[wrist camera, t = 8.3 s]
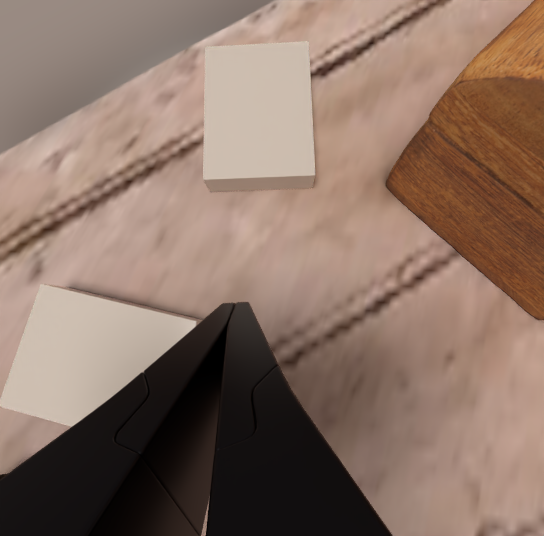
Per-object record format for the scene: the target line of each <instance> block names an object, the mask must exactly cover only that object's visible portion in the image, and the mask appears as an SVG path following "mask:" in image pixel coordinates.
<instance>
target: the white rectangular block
mask: <svg viewBox="0 0 544 536" xmlns="http://www.w3.org/2000/svg"><path fill="white" fill-rule="evenodd" d="M314 179H315V159H314V138H313V118H312V98H311V78H310V58H309V41H303V42H284V43H266V44H248V45H230V46H211V47H205V98H204V160H203V180H204V182H205V184H206V185H207V187H208V189H209V190H210V192H228V191H254V190H280V189H306V188H313V184H314Z"/></svg>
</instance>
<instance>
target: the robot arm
mask: <svg viewBox="0 0 544 536" xmlns="http://www.w3.org/2000/svg"><path fill="white" fill-rule="evenodd" d="M209 496H210V499H209ZM208 501H209V509H208V519H207V529H206V536H393V535H392V534H391V533H390V531H389V530H388V528H387V527H386V525H385V524H384V523H383V521H382V520H381V518H380V517H379V515H378V514H377V513H376V511H375V510H374V508H373V507H372V506H371V504H370V503H369V501H368V500H367V498H366V497H365V496H364V494H363V493H362V491H361V490H360V488H359V487H358V486H357V484H356V483H355V481H354V480H353V478H352V477H351V476H350V474H349V473H348V471H347V470H346V468H345V467H344V466H343V464H342V463H341V461H340V460H339V458H338V457H337V456H336V454H335V453H334V451H333V450H332V448H331V447H330V446H329V444H328V443H327V441H326V440H325V438H324V437H323V436H322V434H321V433H320V431H319V430H318V428H317V427H316V426H315V424H314V423H313V421H312V420H311V418H310V417H309V416H308V414H307V413H306V411H305V410H304V408H303V407H302V405H301V404H300V402H299V401H298V399H297V398H296V396H295V395H294V393H293V391H292V390H291V388H290V386H289V384H288V382H287V380H286V379H285V377H284V375H283V373H282V371H281V368H280V367H279V365H278V363H277V361H276V359H275V357H274V355H273V352H272V350H271V348H270V346H269V344H268V342H267V340H266V338H265V336H264V334H263V331H262V329H261V327H260V325H259V323H258V321H257V319H256V317H255V315H254V313H253V310H252V308H251V306H250V304H249V303H248V302H238V303H236V304H235V303H223V304H221V305H220V306H219V307H218V308H217V309H215V310H214V311H213V312H212V313H211V314H210V315H208V316H207V317H206V318H205V319H204V320H203V321H201V322H200V323H199V324H198V325H197V326H196V327H194V328H193V329H192V330H191V331H190V332H189V333H187V334H186V335H185V336H184V337H183V338H181V339H180V340H179V341H178V342H177V343H176V344H174V345H173V346H172V347H171V348H170V349H169V350H167V351H166V352H165V353H164V354H163V355H162V356H160V357H159V358H158V359H157V360H156V361H155V362H153V363H152V364H151V365H150V366H149V367H148V368H146V369H145V370H144V373H143V372H141V373H140V374H139V375H138V376H136V377H135V378H134V379H133V380H132V381H131V382H129V383H128V384H127V385H126V386H124V387H123V388H122V389H121V390H120V391H118V392H117V393H116V394H115V395H113V396H112V397H111V398H110V399H108V400H107V401H106V402H104V403H103V404H102V405H100V406H99V407H98V408H96V409H95V410H94V411H93V412H91V413H90V414H89V415H87V416H86V417H84V418H83V419H82V420H80V421H79V422H78V423H76V424H75V425H74V426H72V427H71V428H70V429H68V430H67V431H65V432H64V433H63V434H61V435H60V436H59V437H57V438H56V439H55V440H53V441H52V442H51V443H49V444H48V445H46V446H45V447H44V448H42V449H41V450H40V451H38V452H37V453H36V454H34V455H33V456H32V457H30V458H29V459H27V460H26V461H25V462H23V463H22V464H21V465H19V466H18V467H17V468H15V469H14V470H12V471H11V472H10V473H8V474H7V475H6V476H4V477H3V478H2V479H0V536H201V533H202V529H203V524H204V519H205V515H206V510H207V505H208Z"/></svg>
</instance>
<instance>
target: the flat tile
mask: <svg viewBox="0 0 544 536" xmlns="http://www.w3.org/2000/svg"><path fill="white" fill-rule="evenodd" d="M201 321H203V320H201V319H197V318H193V317H189V316H185V315H181V314H176V313H172V312H168V311H164V310H160V309H156V308H152V307H147V306H143V305H139V304H135V303H131V302H127V301H123V300H118V299H114V298H110V297H106V296H102V295H98V294H93V293H89V292H85V291H81V290H77V289H73V288H69V287H61V286H54V285H47V284H41V285H40V288H39V291H38V294H37V296H36V299H35V302H34V305H33V308H32V311H31V313H30V316H29V319H28V322H27V325H26V328H25V331H24V333H23V336H22V339H21V342H20V345H19V348H18V350H17V353H16V356H15V359H14V362H13V365H12V368H11V370H10V373H9V376H8V379H7V382H6V385H5V388H4V390H3V393H2V396H1V399H0V407H3V408H7V409H10V410H14V411H17V412H21V413H25V414H28V415H32V416H35V417H39V418H42V419H46V420H50V421H53V422H57V423H60V424H64V425H68V426H71V427H72V426H74V425H75V424H76V423H78V422H79V421H80V420H82V419H83V418H84V417H86V416H87V415H89V414H90V413H91V412H93V411H94V410H95V409H96V408H98V407H99V406H100V405H102V404H103V403H104V402H106V401H107V400H108V399H110V398H111V397H112V396H113V395H115V394H116V393H117V392H118V391H120V390H121V389H122V388H123V387H124V386H126V385H127V384H128V383H129V382H131V381H132V380H133V379H134V378H135V377H136V376H138V375H139V374H140V373H141V372H143V373H144V370H145V369H146V368H148V367H149V366H150V365H151V364H152V363H153V362H155V361H156V360H157V359H158V358H159V357H160V356H162V355H163V354H164V353H165V352H166V351H167V350H169V349H170V348H171V347H172V346H173V345H174V344H176V343H177V342H178V341H179V340H180V339H181V338H183V337H184V336H185V335H186V334H187V333H189V332H190V331H191V330H192V329H193V328H194V327H196V326H197V325H198V324H199V323H200V322H201Z"/></svg>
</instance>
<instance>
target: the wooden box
mask: <svg viewBox="0 0 544 536" xmlns="http://www.w3.org/2000/svg"><path fill="white" fill-rule="evenodd" d="M386 186H387V188H388V189H389V190H390V191H391V192H392V193H393V194H394V195H395V196H396V197H397V198H398V199H399V200H400V201H401V202H402V203H403V204H404V205H405V206H407V207H408V208H409V209H410V210H411V211H412V212H413V213H415V214H416V215H417V216H418V217H419V218H420V219H421V220H422V221H424V222H425V223H426V224H427V225H428V226H429V227H430V228H431V229H432V230H434V231H435V232H436V233H437V234H438V235H439V236H441V237H442V238H443V239H445V240H446V241H447V242H448V243H449V244H450V245H452V246H453V247H454V248H455V249H456V250H457V251H458V252H459V253H460V254H461V255H462V256H463V257H464V258H466V259H467V260H468V261H469V262H470V263H472V264H473V265H474V266H475V267H476V268H478V269H479V270H480V271H481V272H482V273H483V274H485V275H486V276H487V277H488V278H489V279H490V280H491V281H492V282H494V283H495V284H496V285H497V286H498V287H500V288H501V289H502V290H503V291H504V292H506V293H507V294H508V295H509V296H510V297H512V298H513V300H515V301H516V302H517V303H518V304H519V305H520V306H521V307H522V308H524V309H525V310H526V311H527V312H528V313H530V314H531V315H532V316H534V317H536V318H537V319H538V320H544V0H534V1H533V2H532V3H531V4H530V5H529V6H528V7H527V8H526V9H525V10H524V11H523V12H522V13H521V14H520V15H519V16H518V17H517V18H515V19H514V20H513V21H512V22H511V23H510V24H509V25H508V26H507V27H506V28H505V29H504V30H503V31H502V32H501V33H500V34H499V35H498V36H497V37H496V38H495V39H493V40H492V41H491V42H490V43H489V44H488V45H487V46H486V47H485V48H484V49H483V50H482V51H481V52H480V53H479V54H478V55H477V56H476V57H475V58H474V59H473V60H472V61H471V62H470V63H469V64H468V65H467V67H466V68H465V69H464V70H463V71H462V72H461V73H460V75H459V76H458V77H457V78H456V80H455V81H454V82H453V83H452V84H451V86H450V87H449V88H448V89H447V91H446V92H445V93H444V95H443V96H442V97H441V99H440V100H439V101H438V103H437V104H436V105H435V107H434V108H433V109H432V111H431V113H430V116H429V118H428V120H427V121H426V122H425V124H424V125H423V126H422V127H421V128H420V130H419V131H418V132H417V133H416V135H415V136H414V137H413V138H412V140H411V141H410V142H409V144H408V145H407V146H406V148H405V149H404V151H403V152H402V154H401V155H400V157H399V159H398V160H397V162H396V164H395V165H394V167H393V168H392V170H391V172H390V174H389V176H388V179H387V182H386Z"/></svg>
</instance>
